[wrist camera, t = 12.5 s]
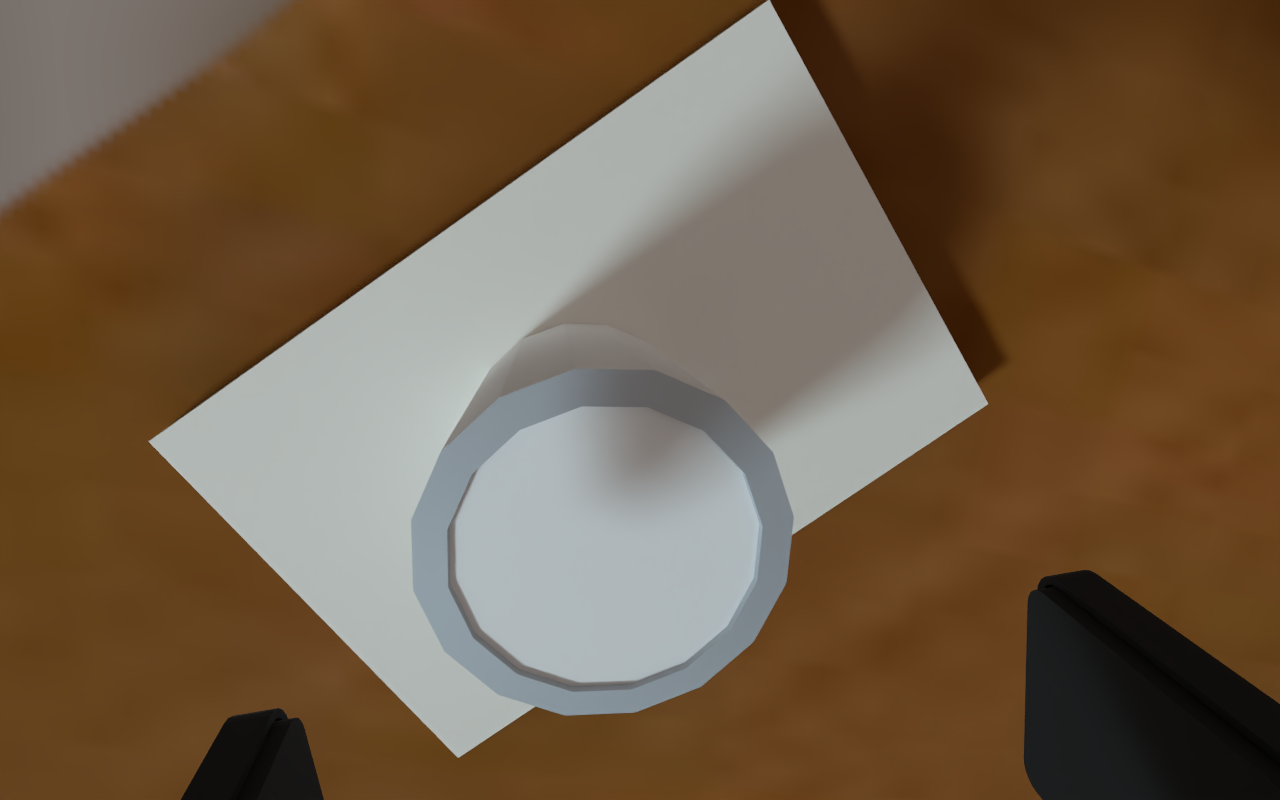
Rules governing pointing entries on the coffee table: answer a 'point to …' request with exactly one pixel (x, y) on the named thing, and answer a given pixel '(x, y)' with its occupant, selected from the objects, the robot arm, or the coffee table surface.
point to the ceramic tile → (590, 294)
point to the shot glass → (598, 527)
